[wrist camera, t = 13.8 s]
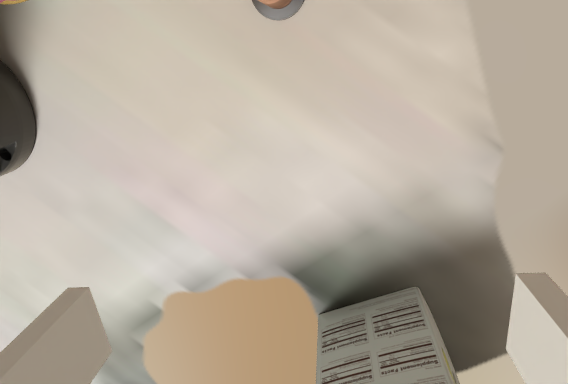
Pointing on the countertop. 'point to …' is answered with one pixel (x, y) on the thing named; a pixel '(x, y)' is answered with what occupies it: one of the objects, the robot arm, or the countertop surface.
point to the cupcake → (11, 1)
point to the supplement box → (383, 343)
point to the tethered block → (278, 8)
